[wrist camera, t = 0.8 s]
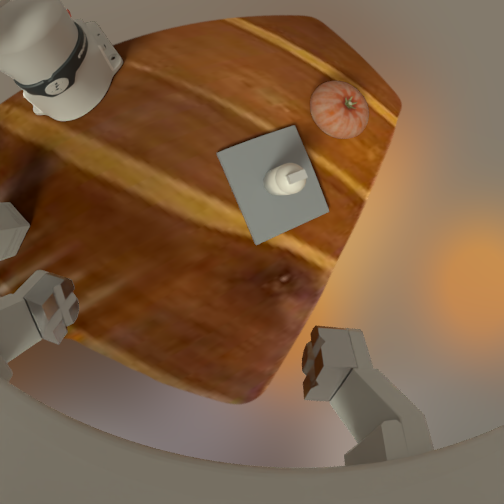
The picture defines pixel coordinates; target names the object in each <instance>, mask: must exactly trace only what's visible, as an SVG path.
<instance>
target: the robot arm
mask: <svg viewBox="0 0 504 504" xmlns="http://www.w3.org/2000/svg"><path fill="white" fill-rule="evenodd" d="M113 58H115V59H114V60H112V59H113ZM122 64H123V60H122V58H121V57H120V55H119V54H118V52H117V51H116V50H115V48H114V47H113V45H112V44H111V42H110V41H109V40H108V38H107V37H106V35H105V34H104V33H103V31H102V30H101V28H100V27H99V25H98V24H97V23H96V22H94V21H93V22H87V23H84V22H83V20H81V19H76V20H72V18H71V14H70V11H69V10H68V9H67V10H66V8H65V7H64V5H63V3H62V2H61V1H60V0H11V1H10V0H0V71H2V72H3V73H5V74H7V75H9V76H10V77H12V78H13V79H14V81H15V83H16V84H17V85H18V86H19V87H20V88H21V89H22V90H23V91H24V93H23V96H24V97H25V98H26V99H27V100H28V101H29V102H30V103H32V104H33V111H34V113H35V114H37V115H48V116H50V117H51V118H53V119H55V120H59V121H69V120H74V119H76V118H79V117H81V116H83V115H85V114H86V113H88V112H89V111H90V110H92V109H93V108H94V107H95V106H96V105H97V104H98V103H99V102H100V101H101V99H102V98H103V97H104V95H105V94H106V92H107V90H108V88H109V86H110V83H111V80H112V78H113V76H114V74H115V73H116V72H117V71H118V70H119V68H120V67H121V66H122ZM73 291H74V285H73V282H72V280H70V279H69V278H66V277H62V276H59V275H56V274H53V273H50V272H46V271H43V270H37V271H36V272H35V273H34V274H33V275H32V276H31V277H30V278H29V279H28V280H27V281H26V282H25V283H24V284H23V285H22V286H21V287H20V288H19V289H18V290H17V291H16V292H15V293H14V294H9V295H6V296H4V297H2V298H0V504H504V426H500V427H498V428H496V429H493V430H491V431H489V432H486V433H484V434H481V435H479V436H476V437H474V438H471V439H468V440H465V441H462V442H459V443H456V444H453V445H450V446H447V447H443V448H440V449H437V450H434V448H433V444H432V440H431V436H430V433H429V429H428V425H427V422H426V418H425V415H424V414H423V413H422V412H421V411H420V410H419V409H418V408H417V407H416V406H415V405H414V404H413V403H412V402H411V401H410V400H409V399H408V398H407V397H406V396H405V395H404V394H403V393H402V392H401V391H400V390H398V388H397V387H395V386H394V385H393V384H392V383H391V382H390V381H389V380H388V379H387V378H386V377H385V376H384V375H383V374H382V373H381V372H380V371H379V370H378V369H373V365H372V362H371V359H370V355H369V352H368V348H367V345H366V342H365V339H364V335H363V332H362V331H361V330H360V329H349V328H336V327H325V326H315V327H314V328H313V330H312V332H311V341H310V342H308V343H307V344H306V346H305V349H304V352H303V358H302V371H303V373H304V374H305V375H306V378H305V380H304V382H303V389H304V399H305V400H316V401H330V404H331V405H332V407H333V409H334V410H335V411H336V413H337V414H338V416H339V417H340V419H341V420H342V421H343V423H344V424H345V426H346V427H347V428H348V430H349V431H350V433H351V434H352V435H353V437H354V439H355V440H356V441H357V443H358V444H357V445H356V446H354V447H353V448H352V449H351V450H349V451H348V452H347V453H346V454H345V455H344V459H345V466H339V467H319V468H279V467H262V466H250V465H240V464H231V463H224V462H217V461H210V460H204V459H199V458H194V457H189V456H184V455H180V454H175V453H171V452H167V451H163V450H159V449H156V448H152V447H148V446H145V445H142V444H139V443H135V442H132V441H129V440H126V439H123V438H120V437H117V436H114V435H112V434H109V433H107V432H104V431H101V430H99V429H96V428H94V427H91V426H89V425H87V424H84V423H82V422H80V421H77V420H75V419H73V418H71V417H69V416H66V415H64V414H63V413H60V412H59V411H57V410H55V409H53V408H51V407H49V406H47V405H45V404H44V403H42V402H40V401H38V400H36V399H35V398H33V397H31V396H29V395H28V394H26V393H24V392H23V391H21V390H19V389H18V388H16V387H15V386H13V385H12V384H10V383H9V380H10V378H11V377H12V375H13V372H12V370H11V369H10V367H9V366H8V364H7V363H8V362H9V361H11V360H12V359H14V358H15V357H17V356H18V355H19V354H21V353H22V352H24V351H25V350H27V349H28V348H30V347H31V346H33V345H34V344H36V343H37V342H39V341H40V340H41V339H42V338H43V339H45V340H48V341H50V342H53V343H56V344H59V343H60V342H61V341H62V339H63V338H64V336H65V335H66V333H67V326H69V325H71V324H73V323H74V321H75V320H76V318H77V315H78V312H79V303H78V299H77V297H76V296H75V295H74V294H73Z"/></svg>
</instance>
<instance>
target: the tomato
mask: <svg viewBox="0 0 504 504" xmlns="http://www.w3.org/2000/svg"><path fill="white" fill-rule="evenodd" d="M310 110H311V115H312V117H313V120H314V121H315V123H316V124H317V126H318V127H319V128H320V129H321V130H322V131H323V132H325V133H326V134H328V135H330V136H332V137H335V138H341V139H347V138H352V137H355V136H357V135H359V134H360V133H361V132H362V131H363V130H364V128H365V127H366V125H367V122H368V119H369V111H368V105H367V102H366V100H365V98H364V96H363V95H362V94H361V93H360V92H359V91H358V90H357V89H356V88H355V87H354V86H352V85H350V84H348V83H346V82H342V81H328V82H325V83H322V84H321V85H320V86H318V87H317V89H316V90H315V91H314V92H313V94H312V97H311V100H310Z"/></svg>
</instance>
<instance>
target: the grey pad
mask: <svg viewBox="0 0 504 504" xmlns="http://www.w3.org/2000/svg"><path fill="white" fill-rule="evenodd" d="M217 156H218V159H219V161H220V163H221V166H222V168H223V170H224V173H225V175H226V177H227V180H228V182H229V184H230V187H231V189H232V191H233V194H234V196H235V198H236V201H237V203H238V205H239V208H240V210H241V212H242V215H243V217H244V219H245V222H246V224H247V226H248V229H249V231H250V233H251V236H252V238H253V240H254V243H255V244H256V245H258V244H260V243H262V242H264V241H266V240H268V239H271V238H273V237H275V236H277V235H279V234H281V233H284V232H286V231H288V230H290V229H292V228H295V227H297V226H299V225H301V224H303V223H305V222H308V221H310V220H312V219H314V218H316V217H318V216H321V215H323V214H325V213H327V212H329V209H328V206H327V204H326V201H325V198H324V196H323V193H322V190H321V188H320V185H319V182H318V180H317V177H316V175H315V172H314V170H313V167H312V165H311V162H310V160H309V157H308V155H307V153H306V150H305V148H304V145H303V143H302V141H301V138H300V136H299V134H298V132H297V129H296V127H295V125H293V126H290V127H287V128H284V129H281V130H278V131H275V132H272V133H269V134H266V135H263V136H260V137H257V138H254V139H252V140H249V141H246V142H243V143H241V144H238V145H235V146H233V147H230V148H228V149H225V150H223V151H220V152H218V153H217ZM286 163H295V164H298V165H299V166H301V167H302V168H303V169H305V171H306V174H307V176H308V178H306V184H305V186H304V188H303V189H302V190H301V191H300V192H298V193H295V194H289V195H280V196H274V195H271V194H269V193H268V192H267V191H266V190H265V188H264V185H263V179H264V176H265V174H266V173H267V172H268V171H270V170H272V169H274V168H276V167H279V166H281V165H283V164H286Z"/></svg>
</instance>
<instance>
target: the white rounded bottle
mask: <svg viewBox="0 0 504 504" xmlns="http://www.w3.org/2000/svg"><path fill="white" fill-rule="evenodd" d="M306 178H308V176H307V174H306V171H305V169H303V168H302V167H301V166H299V165H298V164H295V163H286V164H283V165H281V166H279V167H276V168H274V169H272V170H270V171H268V172H267V173H266V174H265V176H264V179H263V185H264V188H265V190H266V191H267V192H268V193H269V194H271V195H274V196H280V195H289V194H295V193H298V192H300V191H301V190H302V189H303V188H304V186H305V184H306Z"/></svg>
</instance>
